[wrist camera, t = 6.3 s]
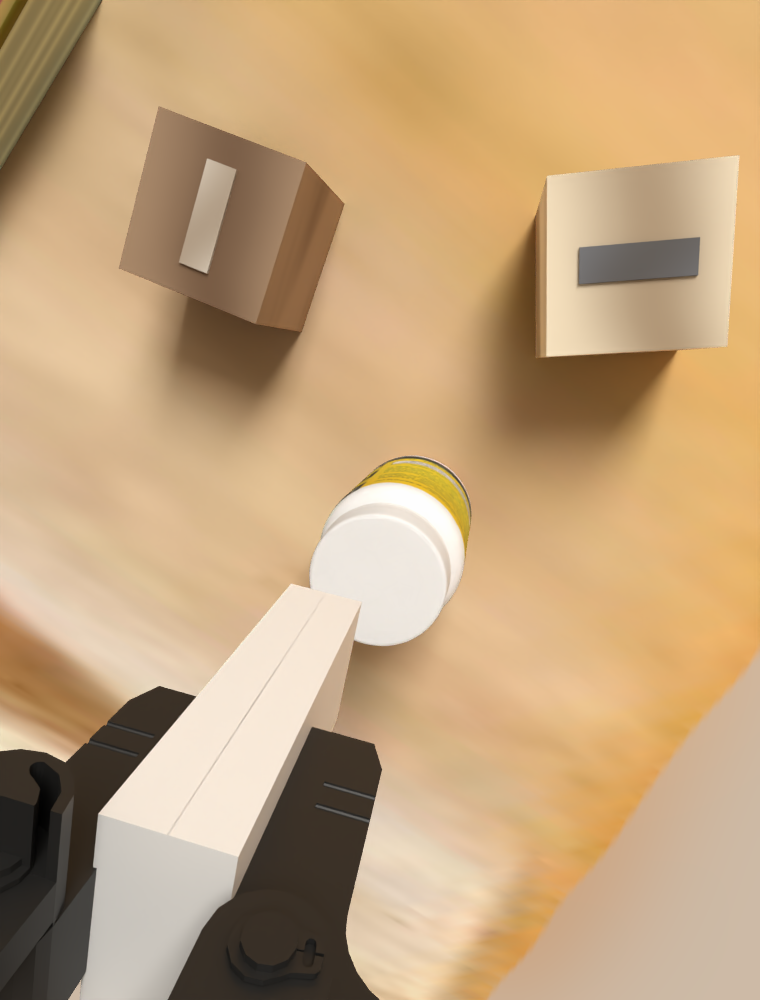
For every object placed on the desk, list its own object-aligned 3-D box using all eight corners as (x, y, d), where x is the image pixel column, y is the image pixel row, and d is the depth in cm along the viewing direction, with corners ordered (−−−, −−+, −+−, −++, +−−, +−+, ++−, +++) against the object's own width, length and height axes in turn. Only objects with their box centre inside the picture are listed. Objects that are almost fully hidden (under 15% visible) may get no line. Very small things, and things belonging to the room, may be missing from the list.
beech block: (535, 358, 23) (546, 356, 18) (535, 216, 22) (547, 175, 17) (677, 350, 22) (728, 346, 17) (683, 202, 21) (740, 153, 16)
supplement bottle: (375, 438, 25) (319, 475, 17) (487, 474, 24) (485, 530, 16) (344, 545, 26) (279, 628, 18) (451, 582, 26) (432, 683, 18)
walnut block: (190, 286, 25) (117, 267, 20) (226, 158, 24) (157, 105, 19) (301, 332, 25) (254, 323, 20) (344, 204, 23) (305, 161, 18)
